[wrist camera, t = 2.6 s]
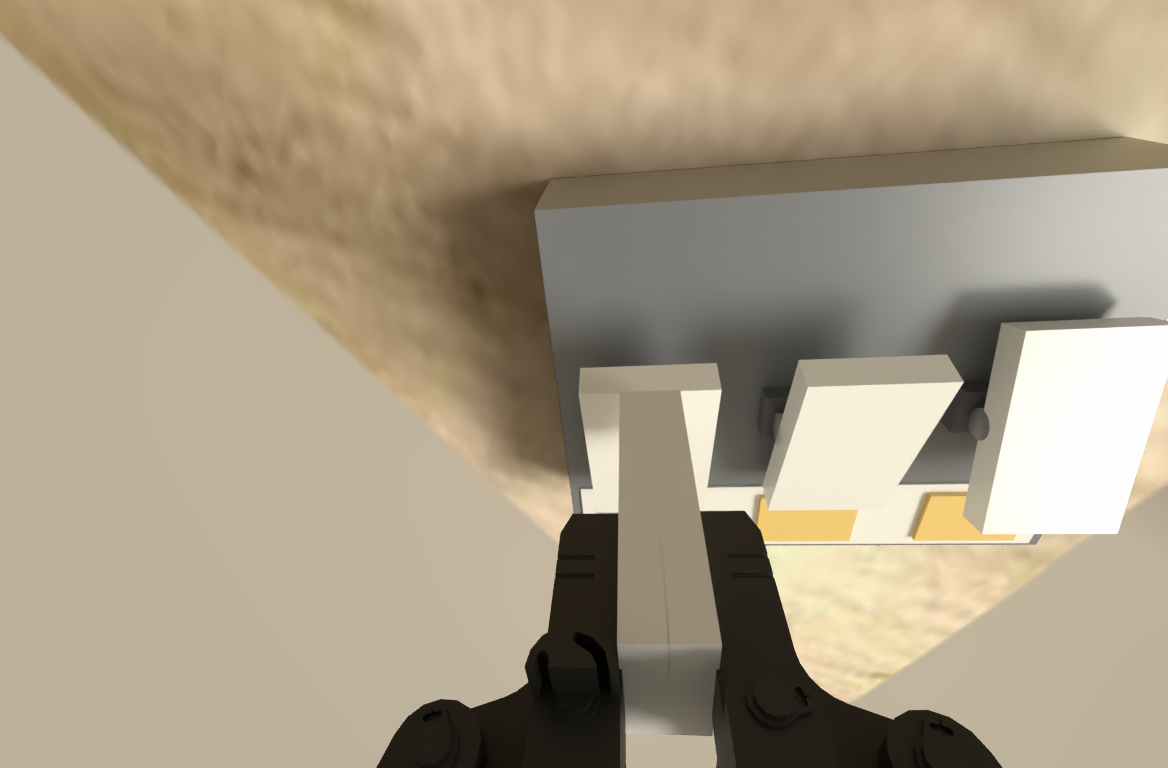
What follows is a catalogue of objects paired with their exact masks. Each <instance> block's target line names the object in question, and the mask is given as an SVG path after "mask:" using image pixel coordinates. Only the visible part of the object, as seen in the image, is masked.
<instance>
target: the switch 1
mask: <svg viewBox="0 0 1168 768" xmlns="http://www.w3.org/2000/svg"><path fill="white" fill-rule="evenodd" d="M666 390H680V392H681V398H682V404H683V411H684V417H685V423H686V429H687V435H688V441H689V447H690V453H691V459H692V465H693V471H694V477H695V483H696V490H697V496H698V502H699V508H700V511H704V507H705V500H706V493H707V486H708V479H709V473H710V466H711V459H712V452H713V445H714V439H715V432H716V425H717V418H718V411H719V404H720V398H721V391H722V389H721V384H720V378H719V373H718V367H717V363H702V364H675V365H648V366H621V367H593V368H580V379H579V401H580V407H581V414H582V420H583V427H584V433H585V440H586V446H587V453H588V459H589V466H590V472H591V479H592V485H593V492H594V498H595V505H596V512H618V502H619V406H620V392H636V391H666Z"/></svg>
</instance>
